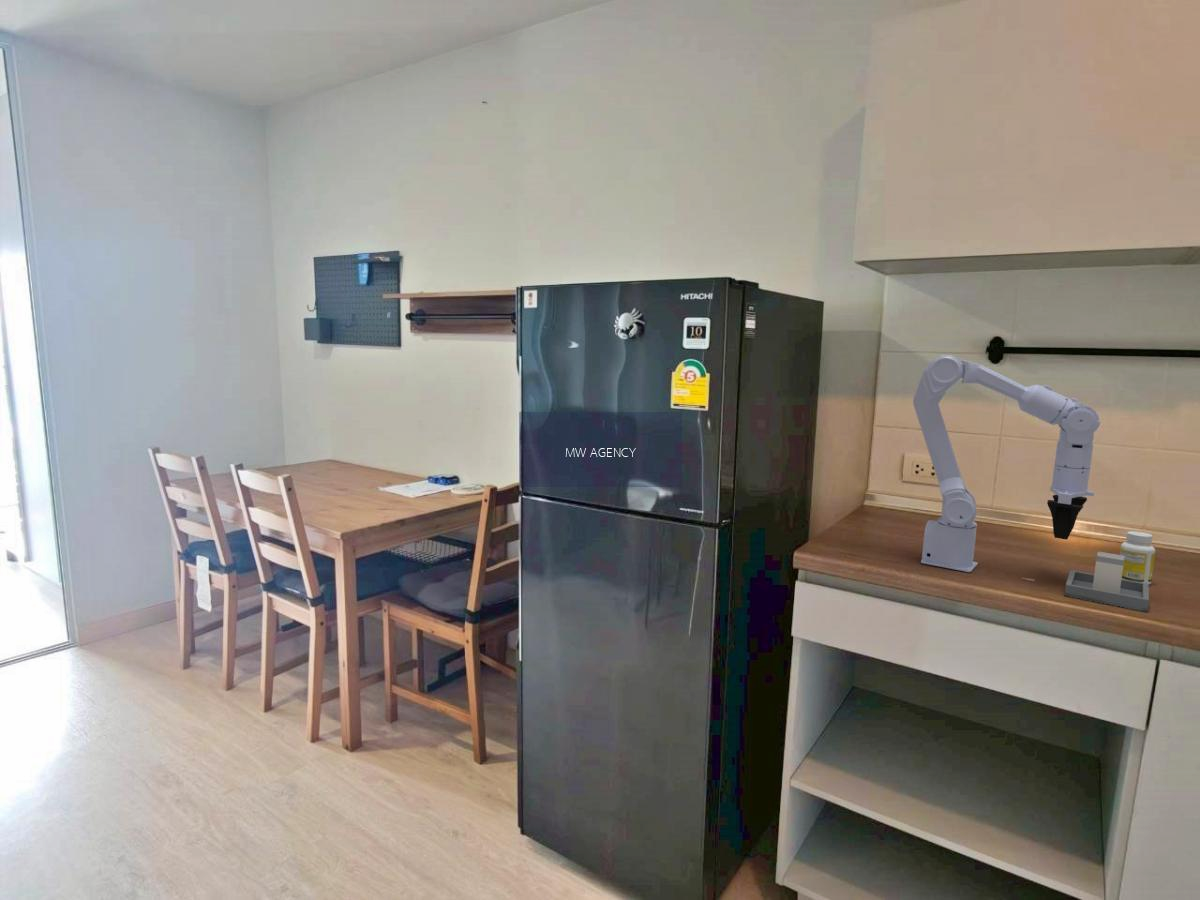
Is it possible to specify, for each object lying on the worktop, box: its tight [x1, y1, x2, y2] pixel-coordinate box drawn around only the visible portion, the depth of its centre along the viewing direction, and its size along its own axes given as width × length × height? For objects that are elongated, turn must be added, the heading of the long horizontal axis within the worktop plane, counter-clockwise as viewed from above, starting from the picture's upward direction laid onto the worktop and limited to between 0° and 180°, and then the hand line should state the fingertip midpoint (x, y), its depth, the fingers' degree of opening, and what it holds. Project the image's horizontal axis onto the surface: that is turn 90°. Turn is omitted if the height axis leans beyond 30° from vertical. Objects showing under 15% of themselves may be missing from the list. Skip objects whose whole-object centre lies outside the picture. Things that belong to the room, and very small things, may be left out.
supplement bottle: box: [1119, 530, 1156, 586], centre depth 135 cm, size 5×5×10 cm
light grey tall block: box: [1093, 551, 1125, 594], centre depth 125 cm, size 4×4×7 cm
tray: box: [1063, 569, 1150, 613], centre depth 126 cm, size 12×12×2 cm
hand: (1062, 534), depth 133 cm, fingers open, 7 cm apart
